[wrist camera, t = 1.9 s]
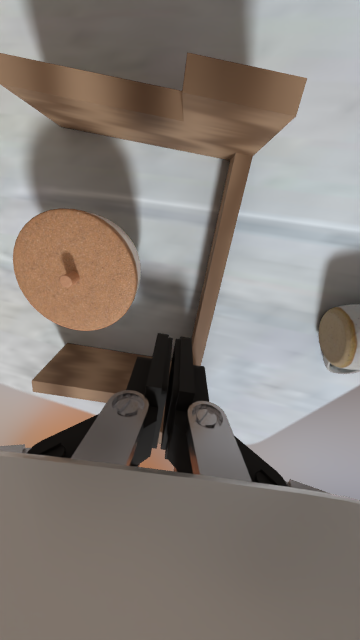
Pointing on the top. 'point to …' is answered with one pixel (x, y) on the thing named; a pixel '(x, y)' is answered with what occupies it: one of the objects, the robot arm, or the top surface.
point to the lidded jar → (76, 268)
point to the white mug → (341, 339)
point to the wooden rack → (170, 132)
